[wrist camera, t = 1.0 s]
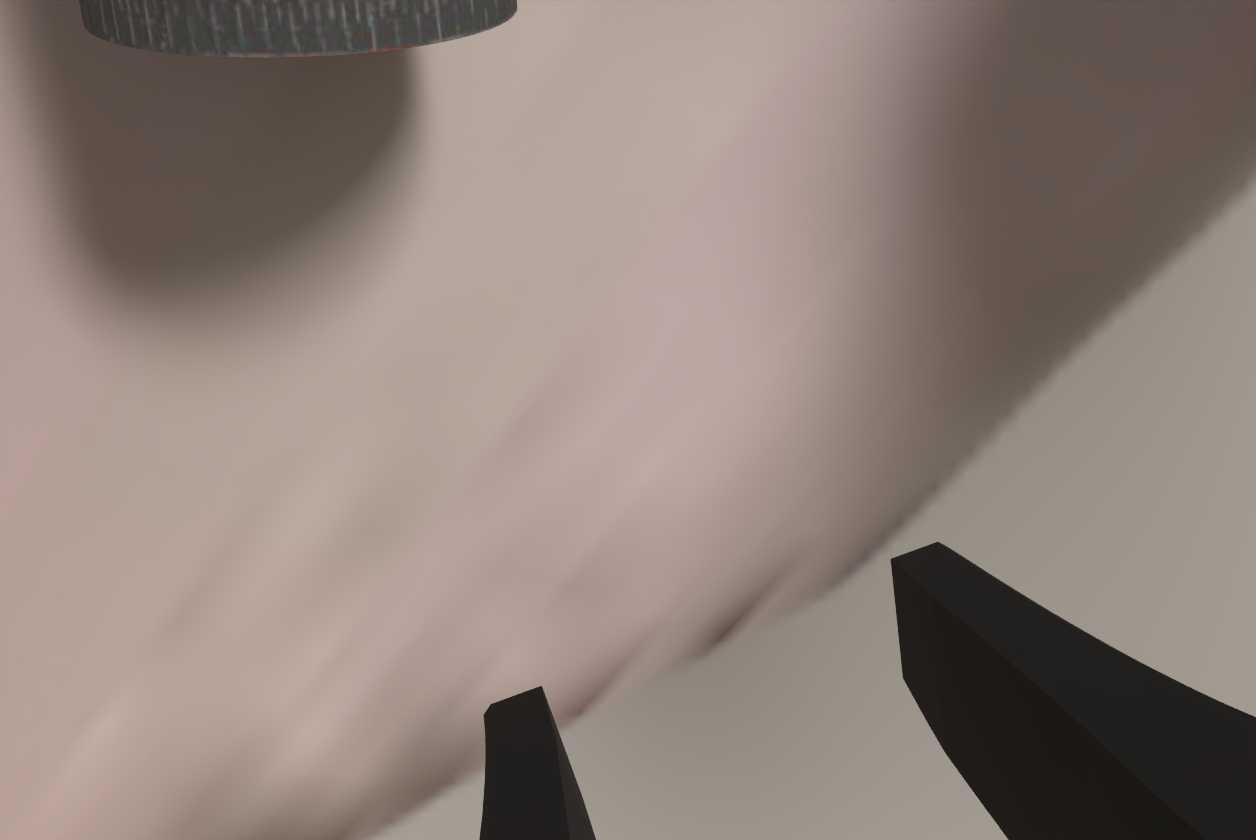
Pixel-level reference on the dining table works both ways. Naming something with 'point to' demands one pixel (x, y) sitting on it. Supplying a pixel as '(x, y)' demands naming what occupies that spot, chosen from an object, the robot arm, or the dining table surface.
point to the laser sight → (288, 25)
